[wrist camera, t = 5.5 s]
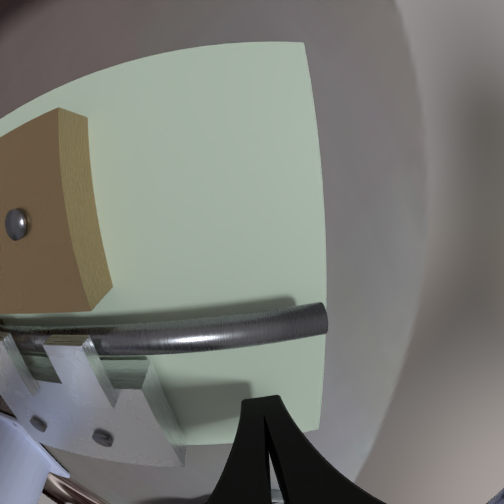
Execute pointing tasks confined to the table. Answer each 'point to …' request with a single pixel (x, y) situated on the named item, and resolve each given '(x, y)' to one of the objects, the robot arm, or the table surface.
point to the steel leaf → (91, 402)
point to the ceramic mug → (276, 496)
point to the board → (206, 217)
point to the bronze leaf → (93, 255)
